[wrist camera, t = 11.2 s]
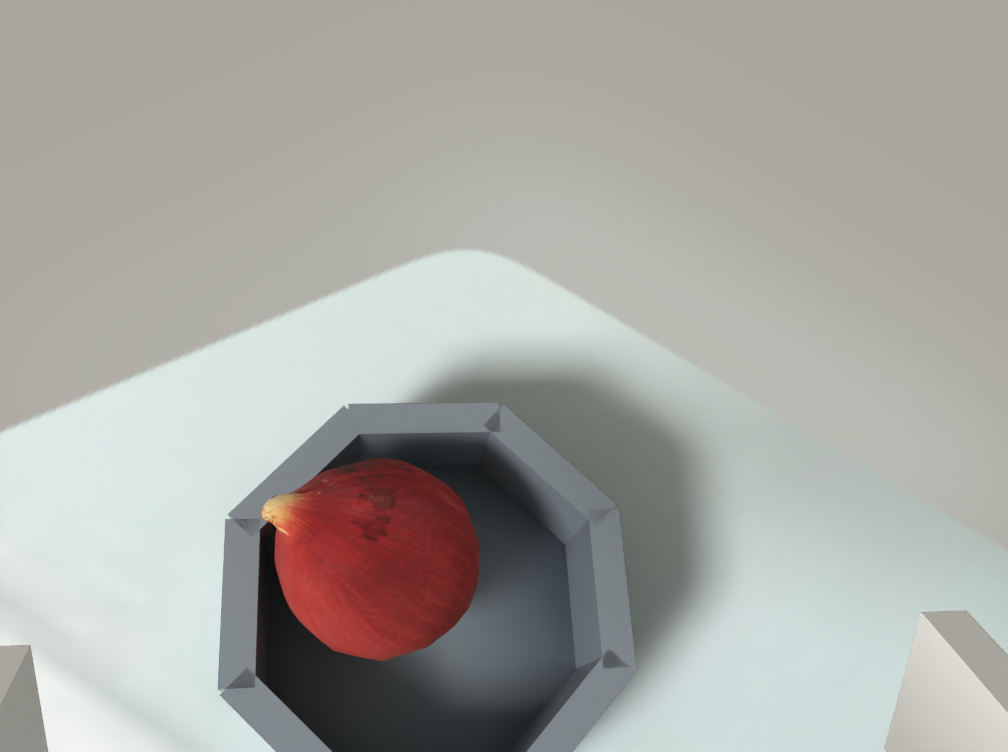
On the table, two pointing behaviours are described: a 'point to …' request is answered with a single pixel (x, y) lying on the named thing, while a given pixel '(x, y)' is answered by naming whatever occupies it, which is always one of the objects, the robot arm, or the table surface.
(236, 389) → the table surface
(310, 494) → the onion
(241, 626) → the grey octagonal bowl
